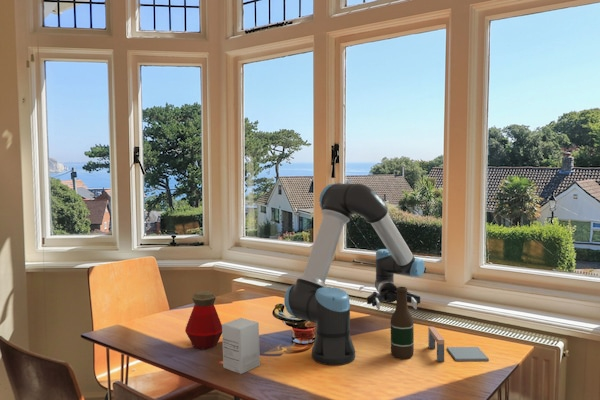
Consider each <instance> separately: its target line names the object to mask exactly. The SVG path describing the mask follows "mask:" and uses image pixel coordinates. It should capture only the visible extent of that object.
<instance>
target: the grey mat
mask: <svg viewBox="0 0 600 400" xmlns="http://www.w3.org/2000/svg"><path fill="white" fill-rule="evenodd" d="M446 350H447V352H448V353H449V355H451V357H452V358H453V359H454V361H455V362H489V361H490V360H489V359H490V358H489V357H488V356H487V355H486V354H485V352H483V351H482V350H481V348H480V347H479V346H446Z"/></svg>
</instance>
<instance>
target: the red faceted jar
mask: <svg viewBox="0 0 600 400" xmlns="http://www.w3.org/2000/svg"><path fill="white" fill-rule="evenodd" d="M216 297H217V296H216V295H215V294H214V293H213V292H212V291H210V290H198V291H196V292H195V293H194V294H193V295H192V296H191V299H192V301H193V303H194V305H193V308H192V311H191V312H190V316H189V318H188V321H187V323H186V326H185V334H186V336H187V337H188V339H189V340H190V342H191V344H192V346H193V348H195V349H199V350H208V349H213V348H214V347H216V346H217V344H218V343H219V340H220V338H222V324H223V323H222V322H221V319H220V317H219V314H218V312H217V309H216V307H215V302H216Z"/></svg>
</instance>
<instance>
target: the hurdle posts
mask: <svg viewBox="0 0 600 400" xmlns="http://www.w3.org/2000/svg"><path fill="white" fill-rule="evenodd" d="M427 333H428V336H427V337H428V338H427V339H428V341H427V342H428V348H429V350H436V360H437V362H438V363H440V362H441V363H443V362H444V363H445V343H444V344H438V343H437V342H436V340H435V339H434V338H433V336H432V335H431V334H430V332H429V331H427Z"/></svg>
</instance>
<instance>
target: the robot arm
mask: <svg viewBox="0 0 600 400" xmlns="http://www.w3.org/2000/svg"><path fill="white" fill-rule="evenodd" d="M321 190H322V191H321V192H320V193H319V198H318V199H319V207H320V208H321V211H320V214H321V215H322V219H321V222H320V225H319V228H318V230H317V233H316V237H315V239H314V241H313V244H312V248H311V251H310V254H309V257H308V260H307V263H306V265H305V269H304V271H303V274H302V275H301V276H299V277H297V278H296V282H295V284H292V285H290V286H289V287H288V288H287V289H286V291H285V292H284V299H283V301H284V307H285V309H286V311H287V313H288V314H289V315H290V316H293V317H295V318H297V319H298V320H304V321H307V322H310V323H313V324H316V328H315V329H316V331H315V332H316V334H315V339H314V343H313V346H312V349H311V359H312V360H313V361H315V362H316V363H319V364H322V365H328V366H339V365H346V364H349V363H351V362H353V361H354V360H356V350H355V346H354V342H353V340H352V337H351V302H350V296H349V293H348V292H346V290H344V289H341V288H338V287H331V286H327V285H326V280H327V277H328V275H329V271H330V268H331V265H332V262H333V259H334V256H335V253H336V250H337V247H338V244H339V241H340V239H341V238H340V237H341V235H342V232H343V230H344V226H345V225H346V224H347V223H349V222H350V221H351V217H352V215H358V216H361V217H362V218H364V221H365V222H366V223H368V224H371V226H372V229H373V230H374V231H375V232H376V234H377V236H378V238H380V240H381V242H382V244H383V245H384V247H385V248H381V249H377V250H376V251H375V280H374V287H375V289H376V291H373V293H371V294H369V296H367V297H366V302H367V303H366V304H367V305H372V307H376V309H377V310H380V309H381V306H380V305H381V304H380V303H382V302H384V303H389V304H391V303H394V302H397V291H396V289H397V288H398V287H397V286H396V284H395V282H394V281H395V279H394V277H395V275H401V276H406V277H410V278H413V277H414V278H420V277H421V276H423V275H424V273H425V268H426V266H425V261H424V260H423V259H420V258H419V257H415V256H414V255H413V253H412V251H411V250H410V248H409V245H408V244H407V243H406V241H405V239H404V238H403V236H402V234H401V233H400V231H399V229H398V227H397V226H396V225H395V223H394V222H393V220H392V218H391V216H390V214H389V208H388V205H387V204H386V203H385V202H384V200H383V198H382V197H381V196H380V195H379V194H378V193H377V192H376V191H374V190H373V189H372V188H371V187H370V186H367V185H365V184H363V183H341V182H340V183H339V182H336V183H331V184H328V185H326V186H324V188H323V189H321ZM408 303H409V304H411V306H412V307H413V309H414V310H417V309H418V304H421V296H419V295H417V294H414V293H411V292H409V291H407V304H408Z"/></svg>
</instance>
